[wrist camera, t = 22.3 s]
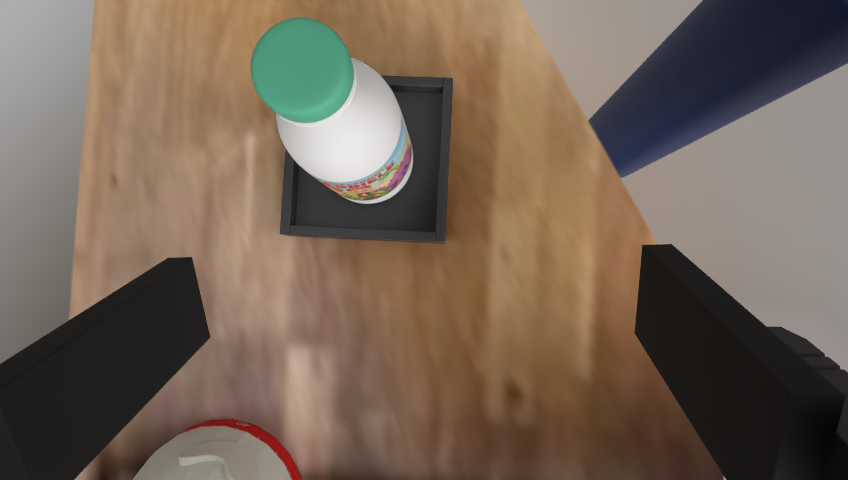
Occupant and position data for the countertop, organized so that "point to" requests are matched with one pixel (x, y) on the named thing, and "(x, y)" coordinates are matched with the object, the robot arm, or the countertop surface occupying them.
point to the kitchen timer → (220, 455)
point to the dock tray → (409, 208)
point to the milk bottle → (332, 111)
